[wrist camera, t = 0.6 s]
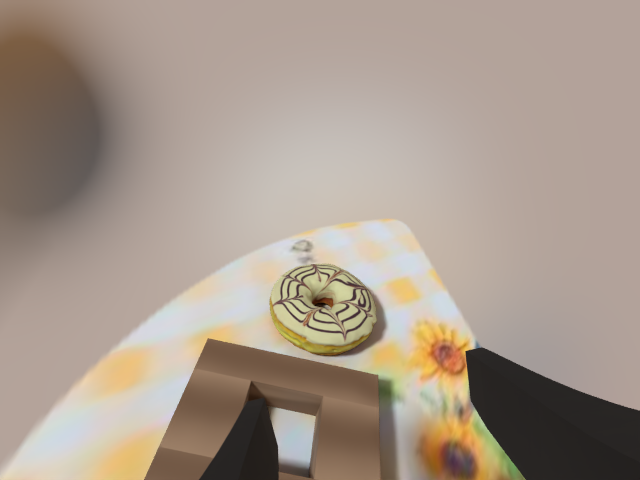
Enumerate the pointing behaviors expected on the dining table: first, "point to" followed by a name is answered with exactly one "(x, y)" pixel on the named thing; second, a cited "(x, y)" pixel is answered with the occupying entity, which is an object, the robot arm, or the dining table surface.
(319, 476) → the hole plate
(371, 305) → the decorated donut
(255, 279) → the dining table surface
